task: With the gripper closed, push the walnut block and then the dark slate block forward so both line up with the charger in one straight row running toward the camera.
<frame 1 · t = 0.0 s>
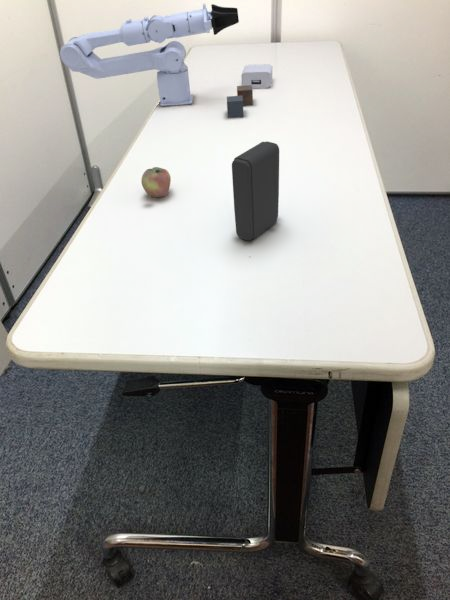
hand: (238, 15, 127), 22 cm above the table, tool horizontal, fingers open, 7 cm apart
walnut block: (245, 103, 137), on the table
slate block: (235, 114, 130), on the table
charger: (258, 81, 153), on the table
dark grey rounded box: (257, 229, 85), on the table
apple: (158, 196, 97), on the table
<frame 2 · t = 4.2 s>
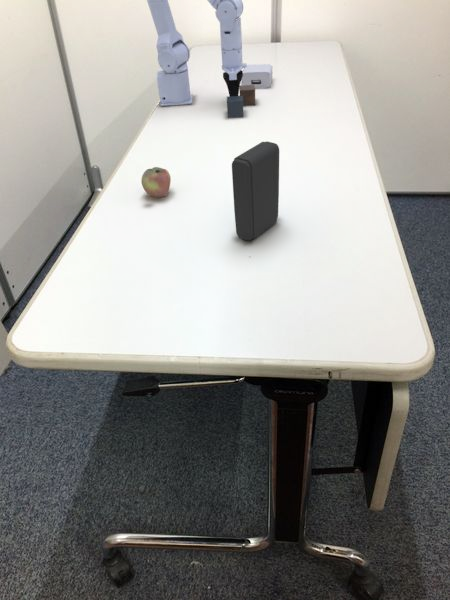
hand: (234, 99, 136), 1 cm above the table, tool pointing down, fingers closed, pressing on walnut block
walnut block: (247, 103, 137), on the table, touching gripper
everything else where it was.
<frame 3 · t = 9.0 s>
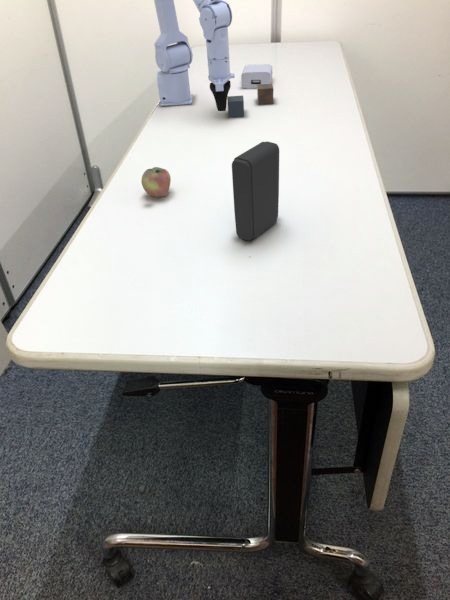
hand: (221, 110, 129), 1 cm above the table, tool pointing down, fingers closed, pressing on slate block
walnut block: (265, 102, 137), on the table
slate block: (236, 114, 130), on the table, touching gripper
everything else where it was.
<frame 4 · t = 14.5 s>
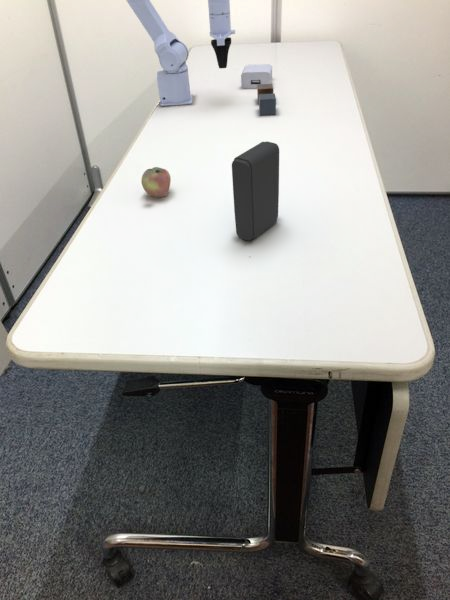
hand: (222, 67, 133), 9 cm above the table, tool pointing down, fingers closed
slate block: (267, 112, 130), on the table
everything else where it was.
at the end: walnut block 0.8 cm from the target spot, on the table; slate block 0.8 cm from the target spot, on the table; slate block 1.0 cm from the target spot on the table beside the charger, on the table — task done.
